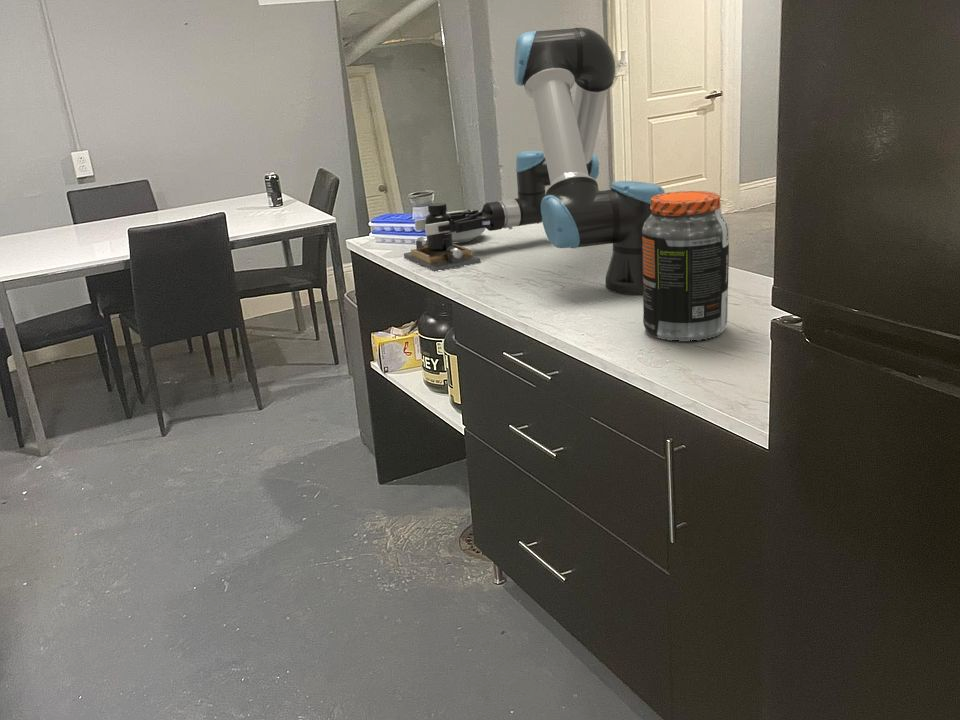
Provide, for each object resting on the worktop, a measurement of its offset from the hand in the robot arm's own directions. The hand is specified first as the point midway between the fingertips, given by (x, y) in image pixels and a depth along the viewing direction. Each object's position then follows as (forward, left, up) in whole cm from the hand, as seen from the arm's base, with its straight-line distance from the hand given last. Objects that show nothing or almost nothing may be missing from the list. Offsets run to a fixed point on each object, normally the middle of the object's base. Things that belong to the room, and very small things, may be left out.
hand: (420, 227), depth 235 cm
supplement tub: (-76, -43, -10) cm, 88 cm away
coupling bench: (+1, -5, -9) cm, 11 cm away
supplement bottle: (+1, -5, -7) cm, 8 cm away
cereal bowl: (+23, -13, -10) cm, 28 cm away
